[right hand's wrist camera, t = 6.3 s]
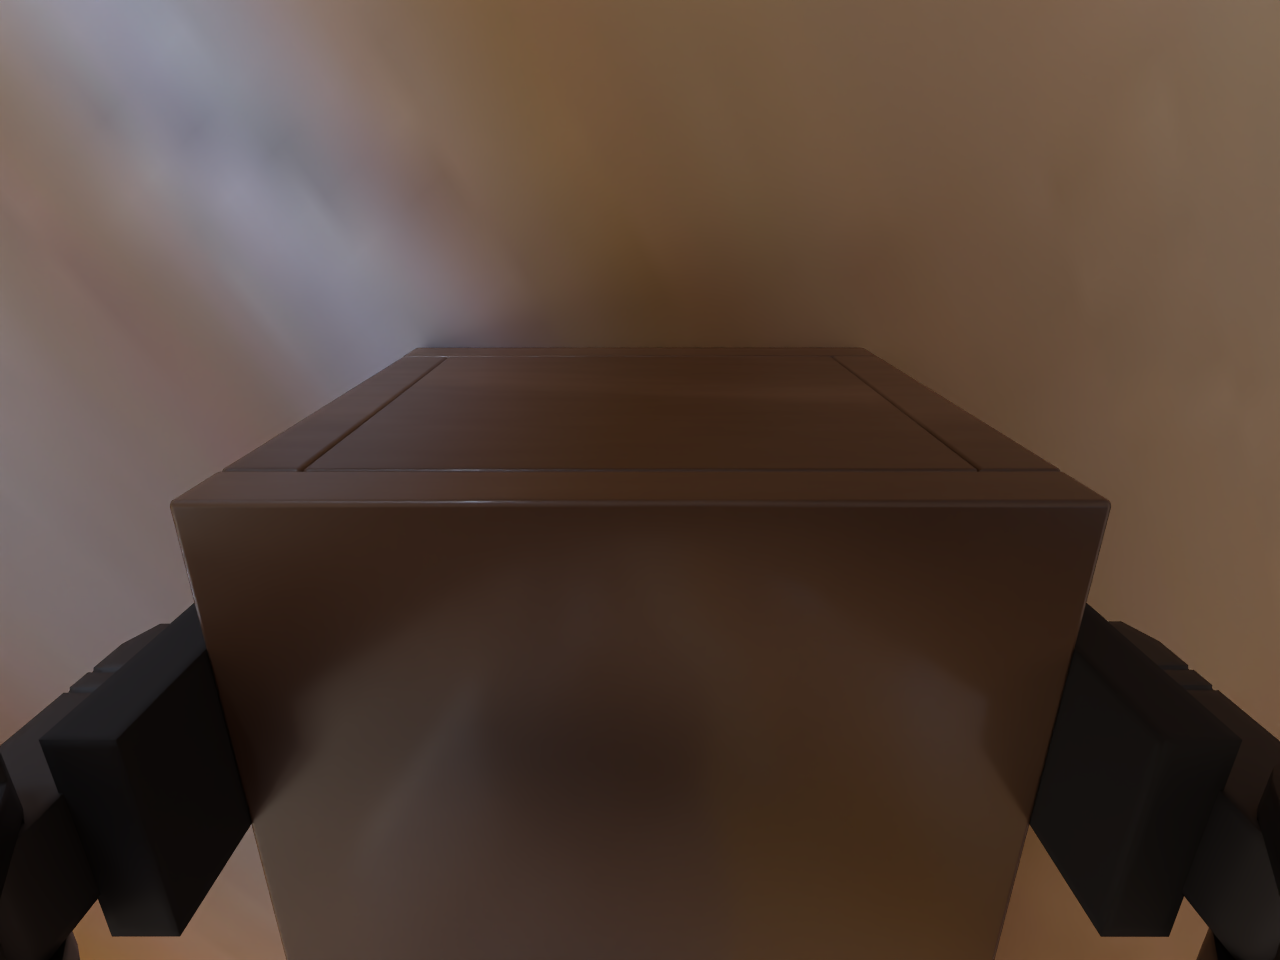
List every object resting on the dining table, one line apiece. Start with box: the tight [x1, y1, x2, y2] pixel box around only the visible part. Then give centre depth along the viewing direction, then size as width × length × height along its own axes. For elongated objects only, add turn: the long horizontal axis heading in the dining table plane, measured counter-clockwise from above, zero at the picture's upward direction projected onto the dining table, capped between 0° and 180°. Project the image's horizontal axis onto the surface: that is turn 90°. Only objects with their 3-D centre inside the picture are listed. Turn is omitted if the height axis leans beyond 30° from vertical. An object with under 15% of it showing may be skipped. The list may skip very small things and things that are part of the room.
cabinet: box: [170, 348, 1111, 960], centre depth 15 cm, size 20×10×9 cm, turn 0°
